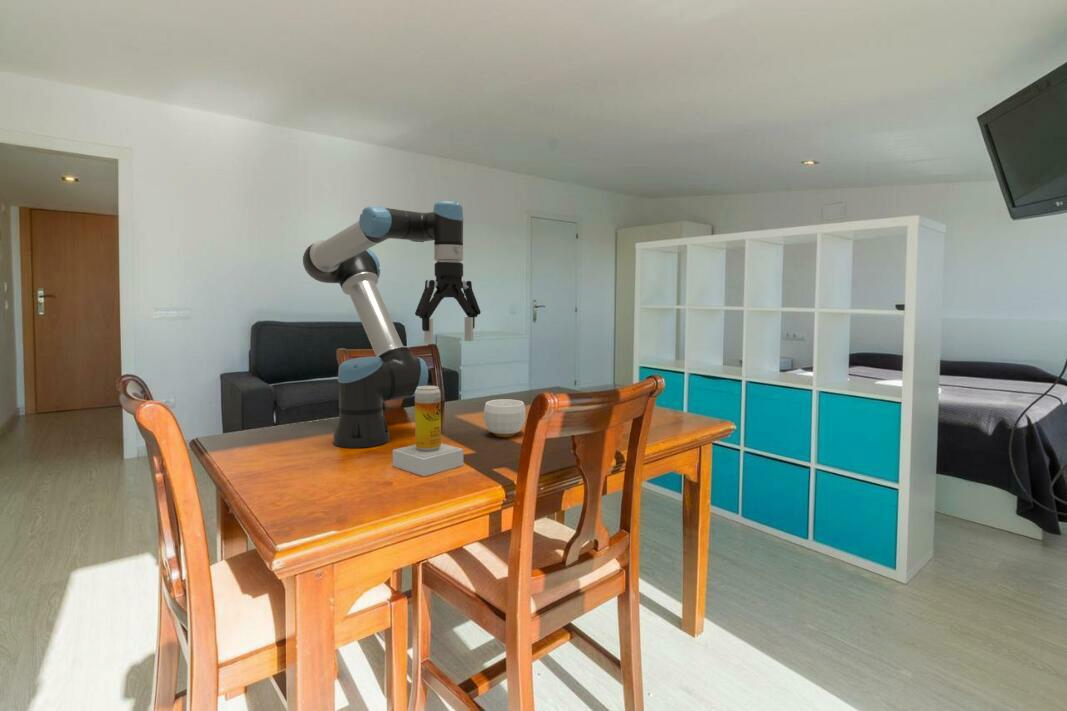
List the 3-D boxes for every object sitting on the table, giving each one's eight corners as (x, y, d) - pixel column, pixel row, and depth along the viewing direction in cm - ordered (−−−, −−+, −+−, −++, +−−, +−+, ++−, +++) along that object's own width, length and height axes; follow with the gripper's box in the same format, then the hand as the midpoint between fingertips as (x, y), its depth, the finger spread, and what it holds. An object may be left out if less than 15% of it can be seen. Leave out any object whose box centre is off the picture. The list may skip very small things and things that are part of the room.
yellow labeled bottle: (435, 452, 137) (435, 389, 136) (411, 451, 138) (410, 388, 137) (444, 446, 143) (444, 385, 141) (421, 444, 144) (420, 384, 143)
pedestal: (392, 466, 141) (392, 448, 140) (432, 455, 150) (431, 439, 149) (424, 476, 133) (423, 458, 132) (463, 465, 142) (463, 448, 141)
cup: (477, 437, 169) (477, 405, 168) (493, 428, 180) (493, 397, 179) (517, 441, 165) (517, 407, 164) (531, 431, 177) (531, 400, 176)
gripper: (418, 259, 142) (419, 346, 144) (493, 263, 160) (493, 340, 162) (400, 260, 147) (401, 344, 149) (475, 264, 165) (475, 338, 167)
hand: (449, 342), depth 156 cm, fingers open, 13 cm apart
